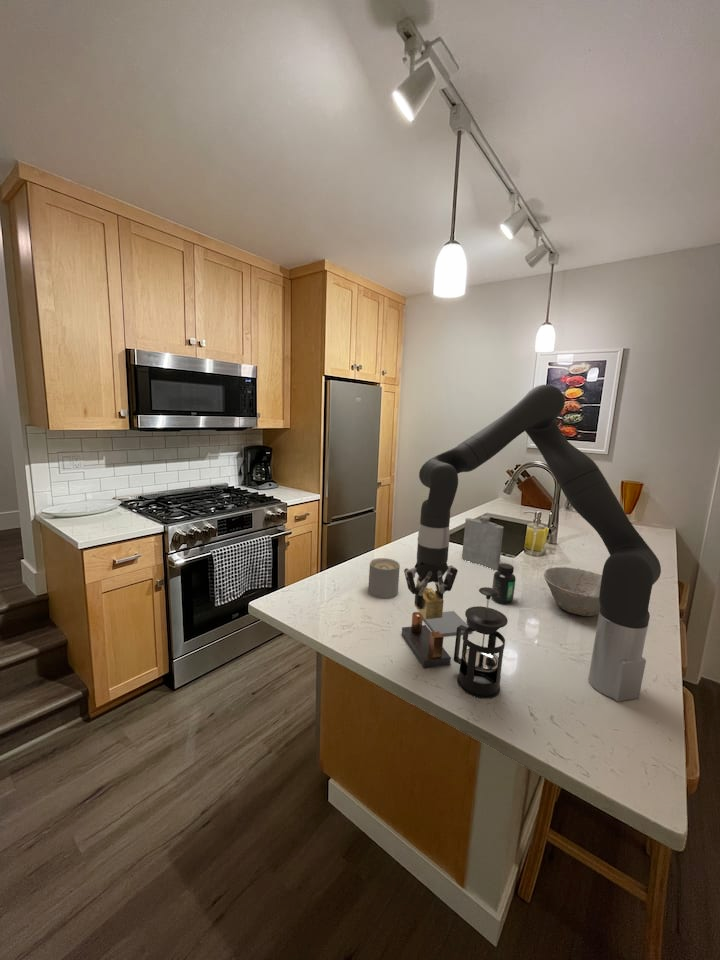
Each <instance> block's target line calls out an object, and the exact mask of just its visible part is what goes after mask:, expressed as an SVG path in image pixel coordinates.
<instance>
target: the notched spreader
mask: <svg viewBox="0 0 720 960" xmlns="http://www.w3.org/2000/svg"><path fill="white" fill-rule="evenodd" d="M463 534H464V535H463V544H462V553H461V560H462V559H463V560H466V561H465V562H467V561H470V562H469V563H471V562H473V563H472V564H475V563H477V564H476V565H478V564H480V565H479V566H481V565H483V566H482V567H484V566H486V567H485V568H487V567H488V568H487V569H489V568H491V569H490V570H492V569H493V570H492V571H495V570H497V568H498V564H500V562H501V553H502V545H503V537H504V536H503V535H504V526H503V525H499V524H497V523H494V522H491V516H488V515H481V516H480V519H475V518H468V517H467V518H465V523H464V532H463ZM463 560H462V561H463ZM497 571H498V570H497Z"/></svg>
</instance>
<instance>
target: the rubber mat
mask: <svg viewBox="0 0 720 960" xmlns="http://www.w3.org/2000/svg"><path fill="white" fill-rule="evenodd" d="M423 622H424V623H425V625H426V626H427V627H428V629H429V630H430V631H431V632H440V633H441V634H442V636H443V637H447V636H448V637H449V636H456V632H457V627H459V626H460V625H463V626H465V627H469V626H468V625H467V622H465V620H463V618H461V617H460V615H459V614H458V613H456V611H455V610H452V611H449V610H448V611H443V614H442V618H433V619H425V618H424V617H423ZM473 632H474V631H472V632H469V633H468V634H473ZM461 635H463V631H462V630H461Z"/></svg>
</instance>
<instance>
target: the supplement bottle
mask: <svg viewBox="0 0 720 960" xmlns="http://www.w3.org/2000/svg"><path fill="white" fill-rule="evenodd" d="M514 567H515V566H513V565H511V564H509V563H505V562H504V563H503V562H501V563H500V564H498V568H497V571H495V572H494V573H493V577H492V578H493V580H492V587H491V588H492V589H495V590H497V591H498V592H499V595H498V596H494V597H491V598H490V599H491V600H493V602H495V603H497V604H501V605H506V606H507V605H511V604H512V603H513V602H514V597H515V596H514V594H515V590H516V589H515V588H516V581H517V578H516V575H515V574H514Z"/></svg>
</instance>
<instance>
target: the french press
mask: <svg viewBox="0 0 720 960" xmlns="http://www.w3.org/2000/svg"><path fill="white" fill-rule="evenodd" d="M478 592H479V593H480V594H482V595H484V596H485V598H486V606H482V605H481V606H477V605H476V606H471V607H468V608H467V609H466V610H465V611H464V613H465V617H466V624H467V625H468V626H469V627H465V626H463V625H460V626H459V627H457V632H456V635H455V644H454V653H453V654H454V655H453V661H454V662H455V663H457V664H458V665H459V670H458V675H457V684H458V687H459V688H460V687H461V688H462V689H463V690H464V691H465V693H466V694H467V693H468V694H467V695H469V694H470V696H471V695H472V696H471V697H474V696H475V697H474V698H477V697H478V698H477V699H482V698H490V699H493V697H494V698H496V697H497V696H498V695H499V694H500V692H501V685H500V684H501V680H502V679H501V677H502V676H501V674H502V668H503V667H502V664H503V659H504V658H503V657H504V649H505V645H506V638H505V637H504V636H503V634H502V633H500V632H499V631H498V630H499V629H501V628H504V627H506V626H507V625H508V618H507V616H506V615H505V614H504V613H502V612H501V611H499V610H497V609H495V608H492V607H489V602H490V600H491V599H492V598H491V597H494V596H498V595H499V592H498V591H497V590H495V589H492V587H487V586H485V587H484V586H483V587H480V588H479V589H478ZM461 630H462V631H463V634H461ZM472 631H473V632H476V633H479V634H482V643H481V645H478V644H476V643H473V642H472V641H470V639H469V634H470V633H469V632H472ZM473 632H472V633H473ZM486 635H487V636H488V640H487V641H488V642H487V647H486V646H484V645H485V637H486ZM461 637H462V638H461ZM461 639H462V647H461ZM497 639H498V640H500V642H501V643H502V645H500V646H496V643H497ZM468 647H469V648H468ZM461 648H462V649H461ZM460 649H461V658H460ZM497 654H498V656H497ZM475 674H477V675H481V676H483V677H485V678H487V679H488V680H490V681H491V682H492V683H480V682H477V681H474V680H475ZM461 688H460V689H461ZM462 689H461V690H462ZM464 691H463V692H464Z"/></svg>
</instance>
